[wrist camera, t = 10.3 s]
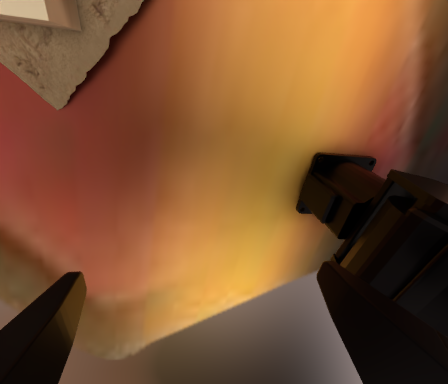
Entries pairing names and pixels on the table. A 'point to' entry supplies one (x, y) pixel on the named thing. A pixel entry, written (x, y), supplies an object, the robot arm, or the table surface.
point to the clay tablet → (62, 48)
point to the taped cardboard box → (42, 13)
